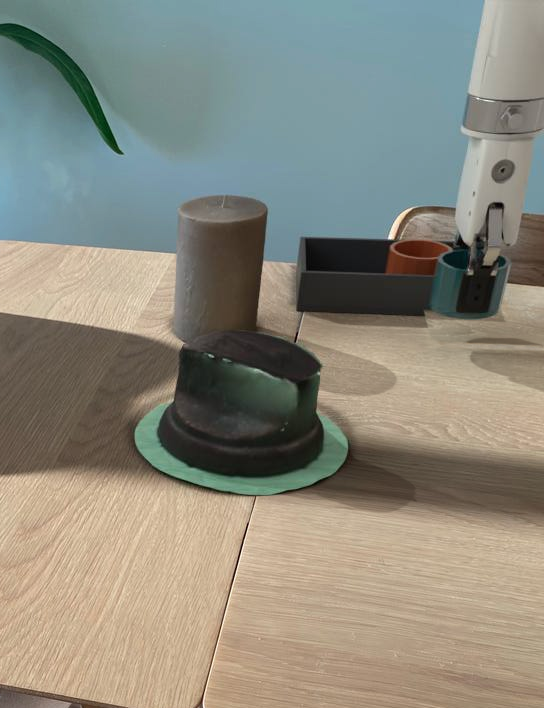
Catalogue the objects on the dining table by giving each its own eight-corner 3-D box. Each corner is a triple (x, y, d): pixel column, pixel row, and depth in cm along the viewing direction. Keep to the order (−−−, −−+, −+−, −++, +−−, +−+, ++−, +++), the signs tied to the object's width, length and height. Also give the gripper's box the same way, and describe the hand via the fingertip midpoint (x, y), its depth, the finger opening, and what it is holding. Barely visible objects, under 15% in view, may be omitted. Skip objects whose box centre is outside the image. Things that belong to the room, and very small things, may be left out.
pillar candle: (273, 329, 113) (288, 191, 103) (222, 355, 108) (234, 213, 98) (205, 309, 118) (214, 176, 109) (154, 333, 113) (159, 196, 103)
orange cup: (440, 281, 122) (449, 240, 119) (447, 302, 116) (456, 260, 113) (380, 279, 123) (388, 238, 120) (384, 300, 117) (392, 257, 114)
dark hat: (382, 408, 95) (327, 514, 82) (217, 456, 107) (146, 555, 93) (327, 263, 89) (258, 352, 76) (159, 330, 101) (74, 417, 87)
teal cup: (494, 295, 107) (504, 248, 104) (504, 320, 102) (516, 271, 99) (425, 294, 109) (434, 248, 105) (432, 319, 103) (442, 271, 100)
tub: (449, 278, 124) (457, 241, 121) (463, 317, 114) (472, 278, 111) (295, 272, 127) (300, 236, 124) (296, 311, 117) (301, 272, 114)
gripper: (565, 135, 86) (517, 330, 97) (529, 95, 99) (490, 270, 111) (476, 137, 88) (438, 328, 99) (452, 96, 101) (421, 269, 112)
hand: (466, 296), depth 105 cm, fingers closed on teal cup, 7 cm apart
